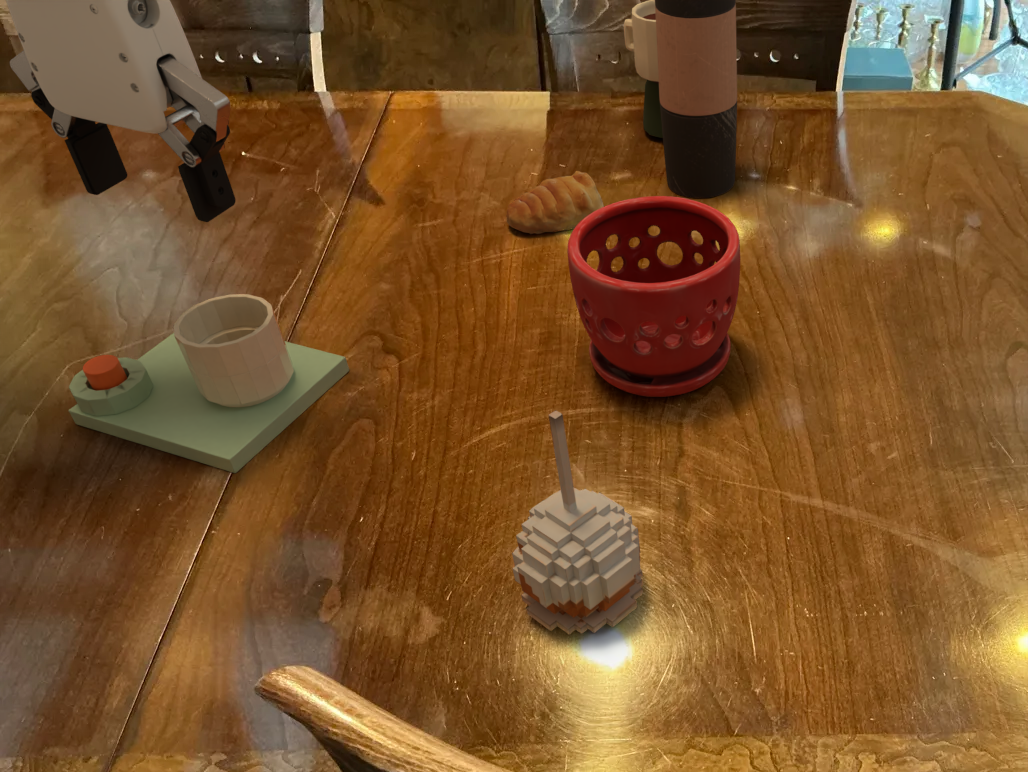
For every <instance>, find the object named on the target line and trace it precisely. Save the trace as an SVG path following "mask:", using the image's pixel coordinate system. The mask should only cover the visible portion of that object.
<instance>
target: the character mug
mask: <svg viewBox="0 0 1028 772" xmlns="http://www.w3.org/2000/svg"><path fill="white" fill-rule="evenodd" d="M623 34H624V37H623V38H624V45H625V48H626V50H628V51H630V52H633V54H634V55H633V56H634V67H635V71H636V74H637V75H639V77H641V78H642V79H645V80H646V81H645V84H644V95H643V97H644V98H643V111H642V112H643V114H642V115H643V116H642V117H643V118H642V124H643V125H642V126H643V130H644V131H645V132H646V133H647V134H649V135H650V136H651V137H656V138H659V139H663V133H662V122H661V110H660V97H659V76H658V55H657V34H656V13H655V0H645V1H642V2H640V3H637V4H636V5H634V6H633V7H632V8H631V18H626V19H624V21H623Z"/></svg>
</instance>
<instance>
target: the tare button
mask: <svg viewBox="0 0 1028 772" xmlns="http://www.w3.org/2000/svg"><path fill="white" fill-rule="evenodd" d="M118 358H119V357H117V356H115V355H113V354H101V355H97V356H95V357H92V358H90V359H88V360H87V361H86V362H85V363H84V364H83V365H82V370H83V372H84V373H85V375H86V377H87V379H88V381H89V383H90V385H91V387H92V388H93V389H94V390H96V391H98V390H108V389H111V388H113V387H116V386H119V385H120V384H121V383H123V382H124V381H125V380H127V376H126V374H125V372H124V370H123V368H122V366H121V364H120V362H119V360H118Z"/></svg>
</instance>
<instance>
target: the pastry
mask: <svg viewBox="0 0 1028 772" xmlns="http://www.w3.org/2000/svg"><path fill="white" fill-rule="evenodd" d="M602 207H604V202H603V199H602V196H601V194H600V192H599V191H598V189H597V185H596V183H595V181H594V180H593V178H592V177H591V176H590V175H589V174H588V173H587V172H582V171H579V170H576V171H574V173H573V174H572V175H565V176H562V175H561V176H558V177H554V178H546V179H544V180H542V181H541V182H540V183H539V184H538V185H537V186H535V187H534V188H533V189H531V190H530V191H525V192H523V193H522V194H521V195H519V196H518V197H517V198H515V199H514V200H513V201H512V202H511V203H508V206H507V209H506V215H505V217H506V219H505V220H506V223H507V225H508V226H509V227H511V228H513V229H515V230H516V231H520V232H522V233H527V234H530V235H533V234H536V235H542V234H543V233H556V232H562V231H569V230H574V228H575V227H576V226H577V224H578V223H579V222H580V221H581V220H583V219H584V218H585V217H586V216H588V215H589V214H591V213H592V212H594V211H596V210H598V209H600V208H602Z"/></svg>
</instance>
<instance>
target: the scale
mask: <svg viewBox="0 0 1028 772" xmlns="http://www.w3.org/2000/svg"><path fill="white" fill-rule="evenodd" d="M284 341H285V344H286V346H287V349H288V352H289V355H290V358H291V360H292V364H293V369H294V372H293V374H292V376H291V378H290V380H289V382H288V383H287V385H286V387H285V388H284V389H283V390H282V391H281V392H280V393H279V394H277V395H276V396H274V397H273V398H271V399H269V400H267V401H265V402H262V403H259V404H256V405H252V406H247V407H226V406H222V405H219V404H217V403H214V402H210V401H208V400H207V399H206V398H205V397H204V396H203V395H202V394H201V393H200V392H199V390H198V388H197V385H196V383H195V381H194V379H193V377H192V374H191V372H190V370H189V368H188V365H187V363H186V361H185V359H184V356H183V354H182V352H181V350H180V348H179V345H178V343H177V341H176V339H175V336H174V332H173V333H171V334H170V335H168V336H167V337H166V338H164V339H163V340H162V341H160V342H159V343H158V344H156V345H155V346H154V347H152V348H151V349H150V350H148V351H147V352H146V353H144V354H142V356H139V358H137V359H135V358H131V357H127V356H125V357H124V356H123V357H117V358H118V360H119V362H120V364H121V366H122V368H123V370H124V372H125V374H126V376H127V380H125V381H124V382H123V383H121V384H120V385H119V386H116V387H113V388H111V389H108V390H98V391H96V390H94V389H93V388H92V387H91V385H90V383H89V381H88V379H87V377H86V375H85V373H84V372H83V369H82V370H80V371H79V372H77V373H76V374H74V376H73V378H72V379H71V381H70V383H69V385H68V389H69V391H70V393H71V394H72V396H73V399H74V400H75V403H76V404H75V405H74V406H72V407H71V408H69V409H68V413H69V414H70V416H71V418H72V420H73V422H74V423H75V425H77V426H81V427H84V428H87V429H89V430H93V431H97V432H101V433H104V434H107V435H110V436H113V437H116V438H120V439H123V440H126V441H128V442H132V443H136V444H139V445H142V446H146V447H147V448H148V447H149V448H152V449H155V450H158V451H162V452H165V453H167V454H171V455H174V456H178V457H181V458H183V459H188V460H191V461H194V462H198V463H201V464H204V465H207V466H210V467H212V468H217V469H220V470H223V471H226V472H229V473H232V474H237V473H238V472H239V471H240V470H241V469H242V468H243V467H245V465H247V464H248V463H249V462H250V461H251V460H252V459H253V458H255V456H257V455H258V454H259V453H260V452H261V451H262V450H263V449H264V448H265V447H266V446H268V445H269V444H270V443H271V442H272V441H274V439H275V438H277V437H278V436H279V435H280V434H281V433H282V432H283V431H285V429H287V428H288V427H289V426H290V425H291V424H292V423H293V422H294V421H296V419H298V418H299V417H300V416H301V415H302V414H303V413H304V412H305V411H306V410H308V409H309V408H310V407H311V406H312V405H313V404H314V403H316V402H317V401H318V400H319V399H320V398H321V397H322V396H323V395H324V394H325V393H326V392H328V391H329V390H330V389H331V388H332V387H333V386H334V385H336V384H337V382H338V381H340V380H341V379H342V378H343V377H344V376H345V375H346V374H347V373H348V372H350V367H349V364H348V361H347V358H346V356H343V355H340V354H335V353H332V352H328V351H324V350H321V349H315V348H313V347H309V346H305V345H302V344H297V343H293V342H289V341H286V340H284Z"/></svg>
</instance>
